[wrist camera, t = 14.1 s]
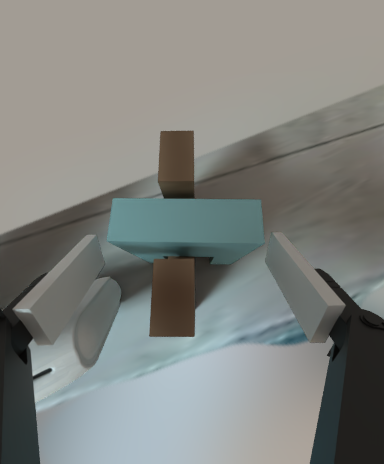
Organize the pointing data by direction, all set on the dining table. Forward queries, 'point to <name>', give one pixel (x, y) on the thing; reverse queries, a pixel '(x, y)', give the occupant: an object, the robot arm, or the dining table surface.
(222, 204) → the teal slotted plate
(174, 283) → the walnut slotted board
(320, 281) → the robot arm
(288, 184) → the dining table surface
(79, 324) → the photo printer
